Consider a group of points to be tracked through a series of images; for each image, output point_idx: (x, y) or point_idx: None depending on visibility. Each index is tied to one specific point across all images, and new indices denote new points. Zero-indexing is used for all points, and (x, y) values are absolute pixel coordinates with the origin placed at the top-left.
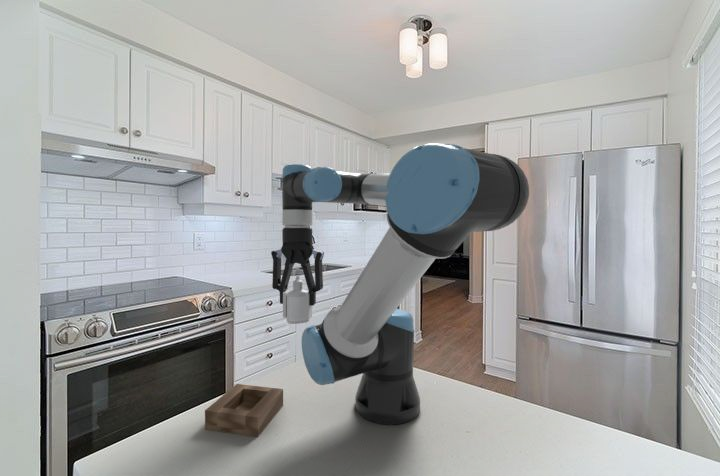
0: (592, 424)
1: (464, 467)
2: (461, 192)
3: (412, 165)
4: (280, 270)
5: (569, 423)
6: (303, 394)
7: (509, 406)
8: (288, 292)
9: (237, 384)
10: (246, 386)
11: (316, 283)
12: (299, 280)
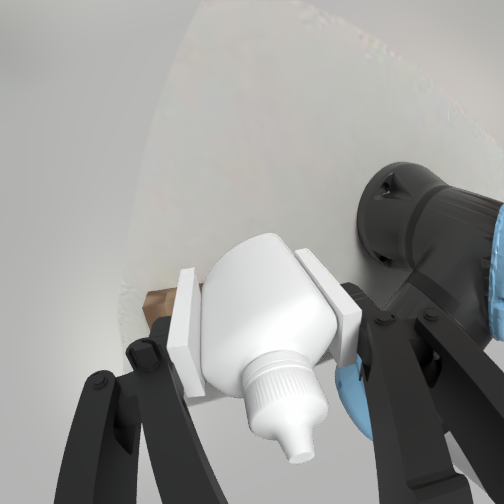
0: None
1: None
2: None
3: None
4: (103, 494)
5: None
6: (253, 228)
7: (501, 170)
8: (223, 391)
9: (145, 309)
10: (167, 309)
11: (428, 386)
12: (312, 428)
